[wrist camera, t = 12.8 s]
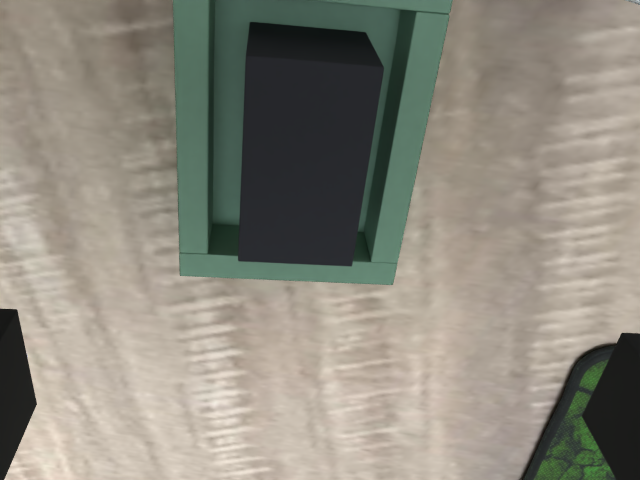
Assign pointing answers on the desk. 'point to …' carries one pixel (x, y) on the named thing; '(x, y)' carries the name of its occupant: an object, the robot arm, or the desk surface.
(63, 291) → the desk surface
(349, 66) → the black rectangular block
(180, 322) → the desk surface
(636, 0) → the product box
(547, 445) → the mouse mat
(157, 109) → the desk surface
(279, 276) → the green open tray
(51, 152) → the desk surface
